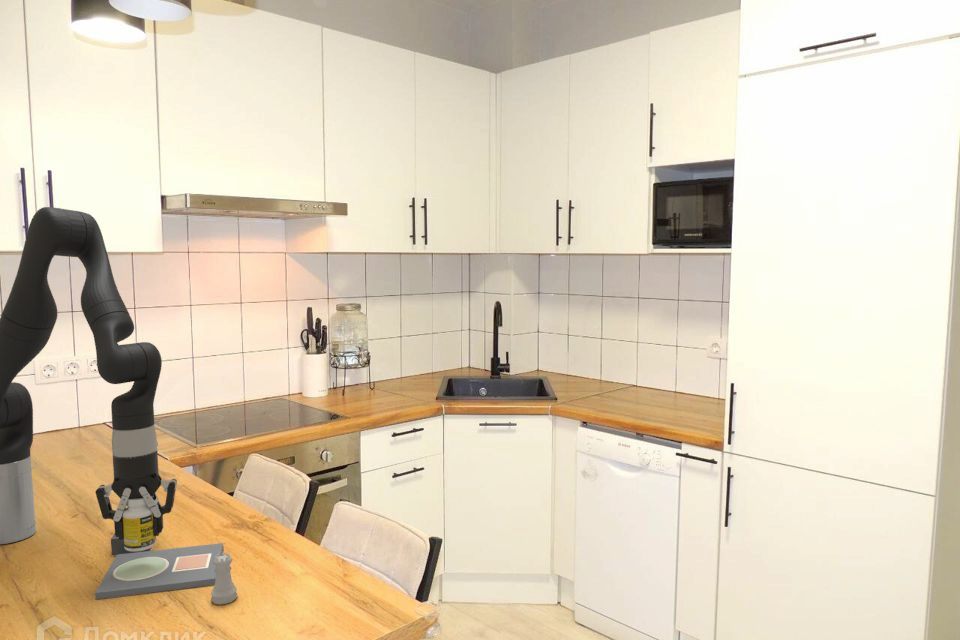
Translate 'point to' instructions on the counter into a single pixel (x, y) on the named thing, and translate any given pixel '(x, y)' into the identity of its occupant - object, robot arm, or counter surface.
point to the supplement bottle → (138, 526)
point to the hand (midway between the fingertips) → (139, 536)
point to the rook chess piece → (223, 581)
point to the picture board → (160, 571)
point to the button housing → (120, 546)
